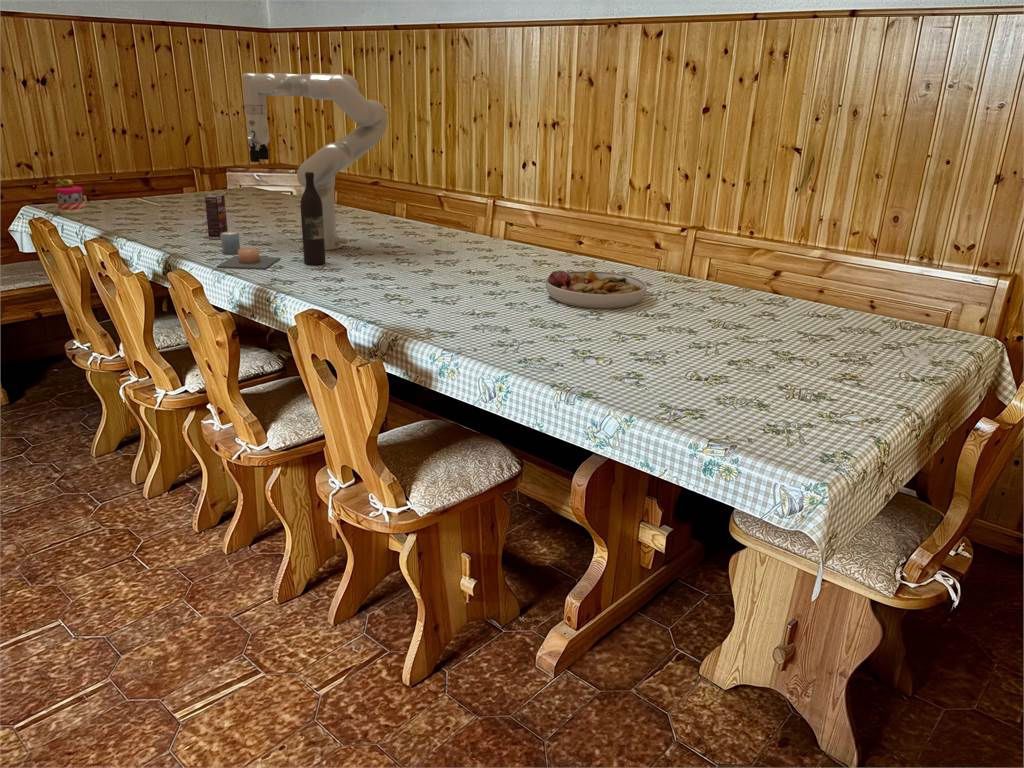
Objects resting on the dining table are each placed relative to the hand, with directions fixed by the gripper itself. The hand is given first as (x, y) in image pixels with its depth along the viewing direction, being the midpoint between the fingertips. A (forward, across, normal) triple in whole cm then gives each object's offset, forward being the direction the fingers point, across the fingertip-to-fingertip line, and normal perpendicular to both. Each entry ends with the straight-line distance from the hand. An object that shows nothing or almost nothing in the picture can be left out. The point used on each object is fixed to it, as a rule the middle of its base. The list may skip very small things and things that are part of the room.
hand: (259, 160), depth 284 cm
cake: (+31, +52, +103) cm, 119 cm away
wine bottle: (+31, -29, -26) cm, 49 cm away
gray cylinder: (+30, -17, +7) cm, 35 cm away
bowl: (+31, -61, -119) cm, 137 cm away
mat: (+30, -33, -5) cm, 45 cm away
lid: (+30, -33, -5) cm, 45 cm away
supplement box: (+31, +10, +22) cm, 39 cm away
